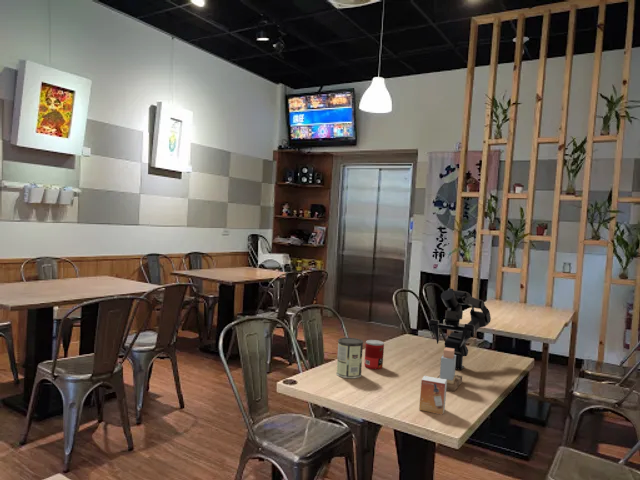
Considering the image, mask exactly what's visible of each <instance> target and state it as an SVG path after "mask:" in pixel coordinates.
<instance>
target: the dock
mask: <svg viewBox="0 0 640 480" xmlns="http://www.w3.org/2000/svg"><path fill="white" fill-rule="evenodd" d="M455 375H456V378H455V381H454V383H453V384H449V383H447V387H446V391H449V392H455V391H456V390H457V389H458V388H459V386H460V385H461V384H462V383H463V375H459V374H455ZM439 377H440V374H439V375H438V376H437V377H436V378H439Z"/></svg>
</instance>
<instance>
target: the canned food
mask: <svg viewBox="0 0 640 480" xmlns="http://www.w3.org/2000/svg"><path fill="white" fill-rule="evenodd" d="M384 349H385V342H383V341H381V340H378V339H368V340H366V341H365V349H364V367H365V368H367V369H369V370H381V369H382V368H383V366H384V364H383V363H384V352H385V350H384Z"/></svg>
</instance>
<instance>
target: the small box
mask: <svg viewBox="0 0 640 480" xmlns="http://www.w3.org/2000/svg"><path fill="white" fill-rule="evenodd" d="M446 387H447V379H440V378H437V377H433V376H427V375H423V377H422V378H421V382H420V396H419V408H418V410H419V411H422V412H427V413H432V414H437V415H441V416H443V415H444V413H445V409H446V397H447V390H446Z"/></svg>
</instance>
